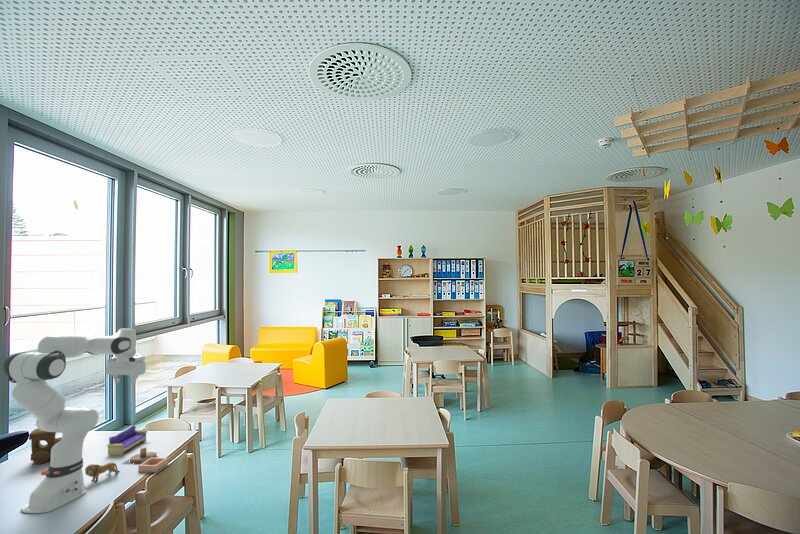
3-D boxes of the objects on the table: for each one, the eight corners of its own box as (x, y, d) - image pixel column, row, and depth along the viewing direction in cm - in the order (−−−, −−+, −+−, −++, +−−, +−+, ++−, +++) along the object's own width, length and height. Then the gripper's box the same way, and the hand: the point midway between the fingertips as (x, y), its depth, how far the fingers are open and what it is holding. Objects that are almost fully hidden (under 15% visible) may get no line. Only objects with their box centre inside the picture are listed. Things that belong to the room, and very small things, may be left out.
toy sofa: (121, 456, 213) (122, 438, 214) (106, 456, 214) (107, 437, 214) (147, 441, 234) (147, 424, 235) (133, 441, 234) (133, 424, 235)
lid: (145, 463, 204) (146, 453, 204) (124, 463, 204) (124, 453, 205) (160, 453, 216) (161, 444, 216) (140, 453, 216) (140, 443, 217)
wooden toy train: (26, 467, 201) (28, 435, 201) (34, 458, 211) (35, 427, 211) (75, 458, 210) (76, 428, 211) (80, 450, 220) (81, 421, 221)
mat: (146, 465, 203) (146, 464, 203) (120, 464, 203) (121, 464, 203) (163, 453, 217) (163, 453, 217) (140, 453, 217) (140, 452, 217)
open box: (155, 473, 195) (155, 466, 195) (138, 472, 195) (138, 465, 195) (167, 464, 204) (167, 457, 204) (150, 464, 204) (151, 457, 204)
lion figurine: (87, 487, 181) (87, 467, 182) (82, 484, 184) (82, 465, 184) (122, 473, 194) (122, 455, 195) (116, 471, 197) (117, 453, 197)
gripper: (103, 358, 207) (102, 384, 206) (139, 358, 206) (138, 384, 205) (112, 356, 213) (111, 381, 212) (147, 356, 212) (147, 381, 212)
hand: (125, 382), depth 209 cm, fingers open, 8 cm apart
